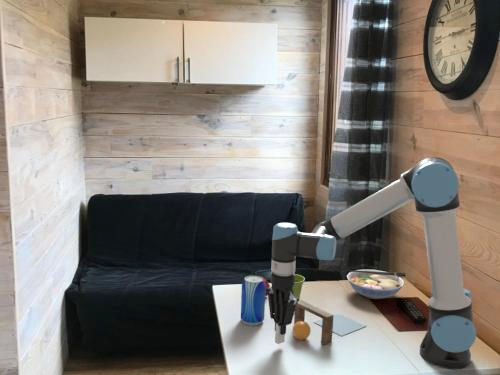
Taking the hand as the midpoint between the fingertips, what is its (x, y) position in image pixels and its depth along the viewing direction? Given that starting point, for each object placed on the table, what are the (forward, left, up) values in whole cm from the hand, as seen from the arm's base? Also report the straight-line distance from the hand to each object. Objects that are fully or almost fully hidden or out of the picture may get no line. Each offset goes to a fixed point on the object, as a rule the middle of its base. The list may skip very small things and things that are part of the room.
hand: (279, 342), depth 168 cm
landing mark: (0, -29, -2) cm, 29 cm away
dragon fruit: (+37, -22, -2) cm, 43 cm away
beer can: (+20, -5, -2) cm, 21 cm away
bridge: (0, -15, -2) cm, 15 cm away
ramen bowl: (+10, -61, -2) cm, 62 cm away
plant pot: (+27, -31, -2) cm, 41 cm away
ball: (0, -10, +1) cm, 10 cm away
